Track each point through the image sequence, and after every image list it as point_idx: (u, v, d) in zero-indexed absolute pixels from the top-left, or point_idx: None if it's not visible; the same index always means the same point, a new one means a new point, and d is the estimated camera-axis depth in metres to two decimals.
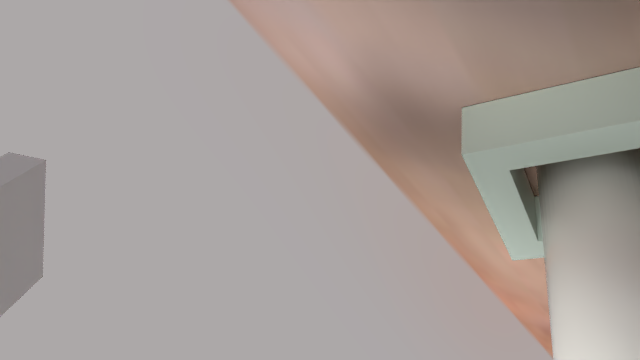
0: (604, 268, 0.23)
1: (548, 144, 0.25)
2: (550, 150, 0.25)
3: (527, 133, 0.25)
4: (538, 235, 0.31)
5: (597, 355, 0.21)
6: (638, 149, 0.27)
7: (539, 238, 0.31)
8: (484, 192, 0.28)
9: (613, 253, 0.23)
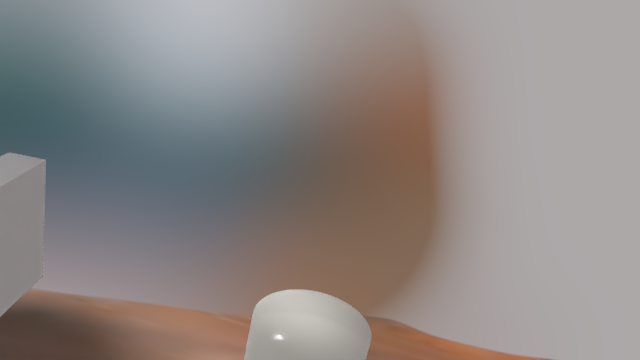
0: None
1: None
2: None
3: None
4: None
5: None
6: None
7: None
8: None
9: None
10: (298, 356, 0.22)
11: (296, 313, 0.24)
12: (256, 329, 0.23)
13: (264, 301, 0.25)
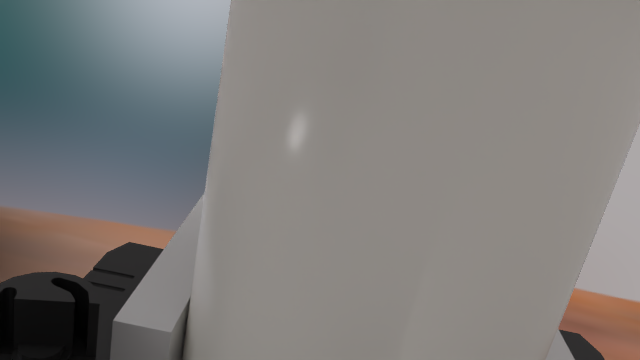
0: None
1: None
2: None
3: None
4: None
5: (197, 251, 0.08)
6: None
7: None
8: None
9: None
10: None
11: None
12: None
13: None
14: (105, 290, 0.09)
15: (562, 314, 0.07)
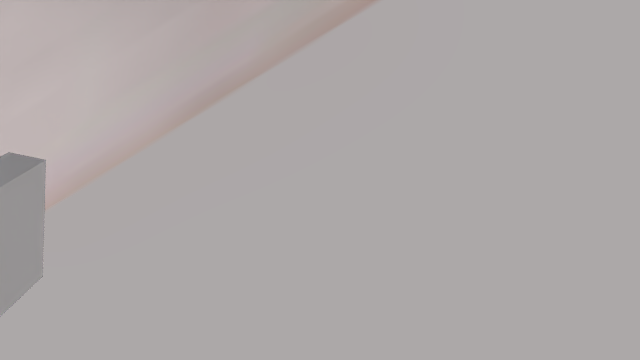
0: None
1: None
2: None
3: None
4: None
5: None
6: None
7: None
8: None
9: None
10: None
11: None
12: None
13: None
14: None
15: None
